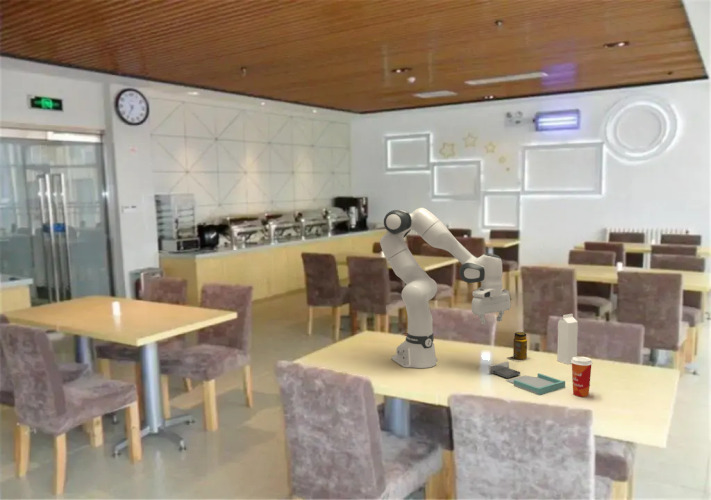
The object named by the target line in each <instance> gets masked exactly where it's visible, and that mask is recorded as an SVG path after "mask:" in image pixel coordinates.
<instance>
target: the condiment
mask: <svg viewBox="0 0 711 500" xmlns="http://www.w3.org/2000/svg"><path fill="white" fill-rule="evenodd" d="M512 349H513V351H512V353H513V355H512V356H508V357H506V359H508V360H511V361H515V362H517V363H518V362H523V361H528V360H531V358H530V357H528V355H527V354H528V339H527V333H525V332H521V331H518V332H517V331H516V332H515V333H514V338H513V348H512Z"/></svg>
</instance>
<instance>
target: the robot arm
mask: <svg viewBox="0 0 711 500" xmlns="http://www.w3.org/2000/svg"><path fill="white" fill-rule="evenodd" d="M383 225H384V226H383V227H384V228H385V230H386V231H387V232H386V233H384V234H383V235H382V236H381V237H380V240H379V245H380V247H381V250H382V252H383V254H384V257H385V259H386V261H387V262H388V264H389V266H390V267H391V269H392V270H393V273H394V274H395V275H396V276H397V277H398V278H400V280H402V281H403V283H404V284H406V285H404V287H403V289H402V291H401V295H400V296H401V300H402V301H403V303H404V304H405V310H406V314H407V332H405V333H404V336H405V340H404V341H403V342H402V343H400V344H399V345H398V346H397V347H396V354H394V355H392V356H391V360H392V361H394V362H395V363H397V364H399V365H400V366H401V367H403V368H416V369H426V368H427V369H428V368H432V367H435V366H436V365H437V361H438V358H437V357H436V356H437V355H436V347H435V343H434V340H435V339H434V333H433V315H432V313H431V310H430V305H429V301H430V300H432V299H434V297H435V295H436V294H437V292H438V284H437V282H436V280H434V279H433V278H431V277H430V276H429V275H428V274H427V272H426V271H425V270H424V269H423V268H422V267H421V265H420V264H419V263H418V262H417V260H416V258H415V257H414V255H413V254H412V251H410V249H409V247H408V245H407V244H406V242H405V240H404V238H405V237H407V235H408V234H409V233H410V232H411V231H412V230H413V231H414V232H416V233H417V234H418V235H419V236H420V238H422V239H423V240H424V241H425V242H426V243H427V244H428V245H430V246H431V247H432V248H436V249H441V250H443V251H446V252H449V253H450V254H451V255H452V256H453V257H454V258H455V259H456V260H457V261H458V262H459V263H460V264H461V266H460V267H459V270H458V274H459V276H460V279H461V280H462V281H463V282H464V283H467V284H475V283H481V285H480V286H479V287H478V288H476V289H475V290H473V291H472V293H471V294H472V296H473V298H472V301H471V313H472V315H475V316H478V318H479V319H480V323H481V325H487V320H486V319H485V316H486V315H487V314H493V313H498V315H497V316H496V321H497V322H502V321H503V316H504V314H505V312H506V311H509V310H510V309H511V306H512V305H511V303H512V302H511V296H510V291H509V290H508V289H506V288H504V289H503V281H502V278H503V261H502V258H501V257H500V256H499V255H498V254H495V253H483V254H481V256H476V255H474V254H473V253H471V252H470V251H469V249H467V247H465V246H464V245H463V244H462V243H461V242H460V241H459V240H457V239H456V237H455V236H454V235H453V234H452V232H451V231H450V230H449V229H448V227H446V225H445V224H444V223H443V222H442V221H441V220H440V219H439V218H438V217H437V216H436V215H435V214H434V213H432V212H431V211H429V210H428V209H426V208H425V207H418V208H416V209H415V210H413V211H412V212H411V213H410V212H409V211H406V210H403V209H394V210H390V211H389V212H387V213H386V215H385V216H384V218H383Z"/></svg>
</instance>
